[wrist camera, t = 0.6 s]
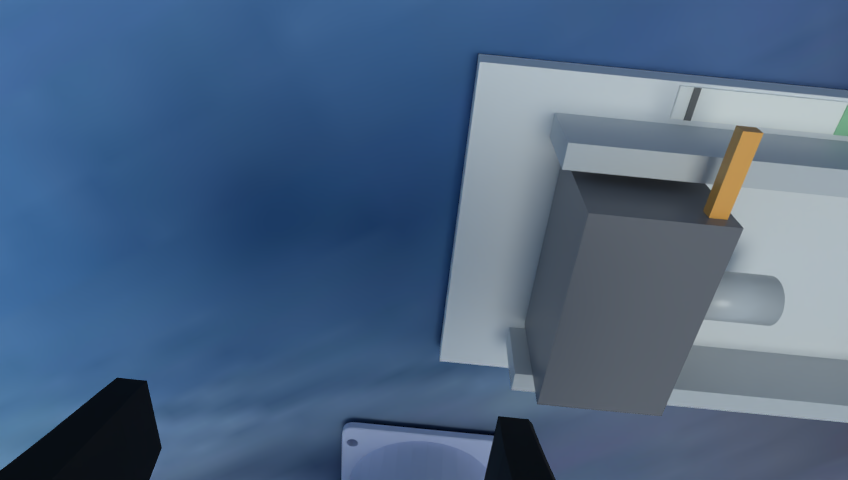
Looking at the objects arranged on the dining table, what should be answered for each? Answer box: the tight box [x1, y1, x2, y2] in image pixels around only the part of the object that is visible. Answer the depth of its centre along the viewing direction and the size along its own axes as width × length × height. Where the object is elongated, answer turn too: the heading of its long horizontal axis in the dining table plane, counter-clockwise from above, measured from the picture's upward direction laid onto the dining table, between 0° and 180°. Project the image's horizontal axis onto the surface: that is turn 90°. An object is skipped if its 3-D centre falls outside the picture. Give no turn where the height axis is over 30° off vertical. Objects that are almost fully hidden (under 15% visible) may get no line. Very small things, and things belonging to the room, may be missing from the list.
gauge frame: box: [440, 54, 848, 423], centre depth 18 cm, size 12×22×6 cm, turn 85°
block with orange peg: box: [525, 126, 785, 416], centre depth 18 cm, size 9×7×4 cm
